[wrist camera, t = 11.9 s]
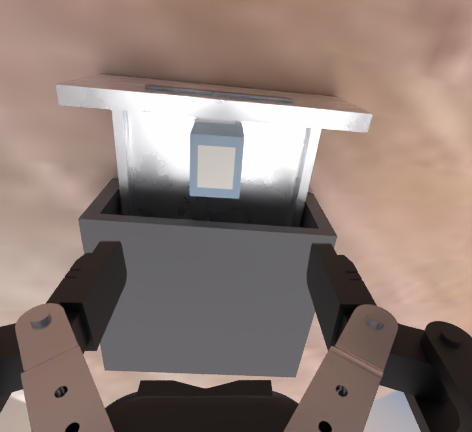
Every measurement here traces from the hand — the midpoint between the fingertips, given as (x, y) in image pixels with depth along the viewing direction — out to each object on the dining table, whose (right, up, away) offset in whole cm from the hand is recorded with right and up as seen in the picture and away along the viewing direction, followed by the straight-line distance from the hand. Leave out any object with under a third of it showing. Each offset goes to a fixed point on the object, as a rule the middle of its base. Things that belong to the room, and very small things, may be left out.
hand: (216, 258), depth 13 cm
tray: (-1, +5, +17) cm, 18 cm away
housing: (-2, -3, +22) cm, 22 cm away
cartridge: (-1, +7, +14) cm, 16 cm away
